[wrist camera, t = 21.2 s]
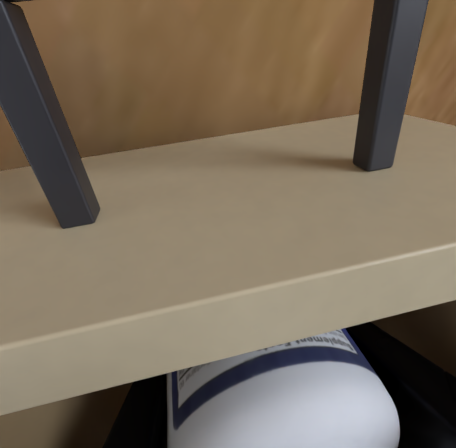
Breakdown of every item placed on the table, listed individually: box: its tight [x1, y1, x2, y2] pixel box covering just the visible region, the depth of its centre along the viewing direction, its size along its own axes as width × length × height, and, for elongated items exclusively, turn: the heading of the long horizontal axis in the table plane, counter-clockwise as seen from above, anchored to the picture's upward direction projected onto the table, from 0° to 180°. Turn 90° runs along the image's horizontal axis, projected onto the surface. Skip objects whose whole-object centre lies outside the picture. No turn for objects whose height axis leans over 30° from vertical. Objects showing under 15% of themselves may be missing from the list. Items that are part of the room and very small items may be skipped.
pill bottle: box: [167, 328, 400, 448], centre depth 8 cm, size 5×5×9 cm
